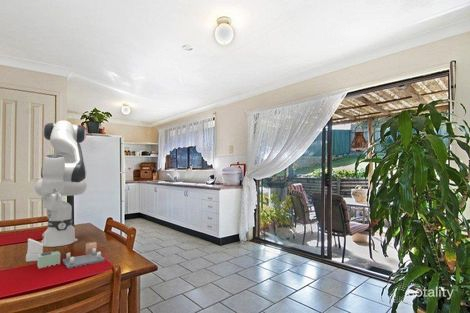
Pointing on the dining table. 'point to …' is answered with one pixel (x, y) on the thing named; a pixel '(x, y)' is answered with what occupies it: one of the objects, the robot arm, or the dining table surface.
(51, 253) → the pale green notched block
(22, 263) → the dining table surface
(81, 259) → the mounting plate
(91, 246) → the tan orange cube
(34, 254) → the white wedge bracket
